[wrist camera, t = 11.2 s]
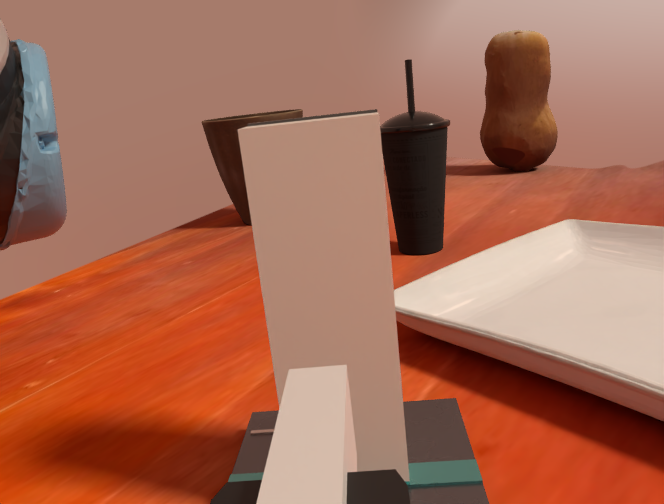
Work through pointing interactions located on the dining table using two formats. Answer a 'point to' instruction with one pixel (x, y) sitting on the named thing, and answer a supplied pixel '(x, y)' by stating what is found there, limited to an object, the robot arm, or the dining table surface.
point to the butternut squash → (518, 101)
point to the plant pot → (236, 152)
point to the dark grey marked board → (422, 450)
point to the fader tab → (329, 265)
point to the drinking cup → (416, 175)
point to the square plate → (558, 308)
